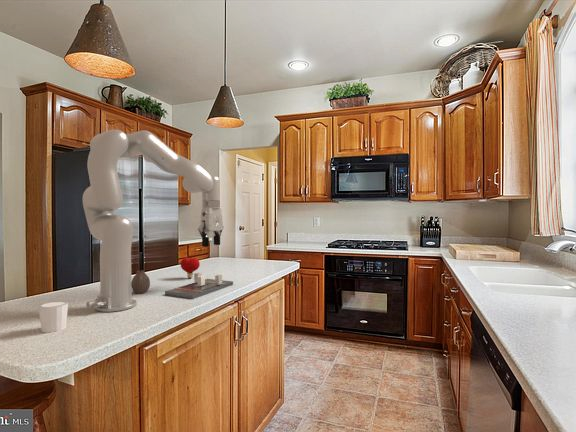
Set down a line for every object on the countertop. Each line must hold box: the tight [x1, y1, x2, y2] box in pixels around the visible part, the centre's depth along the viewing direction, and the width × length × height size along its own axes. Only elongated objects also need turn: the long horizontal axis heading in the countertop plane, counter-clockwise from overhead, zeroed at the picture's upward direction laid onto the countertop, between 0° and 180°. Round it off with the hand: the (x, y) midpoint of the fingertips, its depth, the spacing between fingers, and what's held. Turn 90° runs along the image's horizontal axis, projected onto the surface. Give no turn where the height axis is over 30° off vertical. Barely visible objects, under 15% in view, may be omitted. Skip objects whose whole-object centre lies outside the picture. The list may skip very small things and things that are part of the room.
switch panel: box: [164, 272, 234, 300], centre depth 140 cm, size 26×14×6 cm, turn 155°
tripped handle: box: [197, 275, 206, 286], centre depth 140 cm, size 2×2×4 cm
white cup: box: [38, 300, 69, 334], centre depth 94 cm, size 7×7×7 cm
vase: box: [131, 269, 151, 295], centre depth 135 cm, size 7×7×9 cm
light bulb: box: [180, 257, 201, 279], centre depth 163 cm, size 9×7×10 cm
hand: (211, 245), depth 146 cm, fingers open, 7 cm apart
